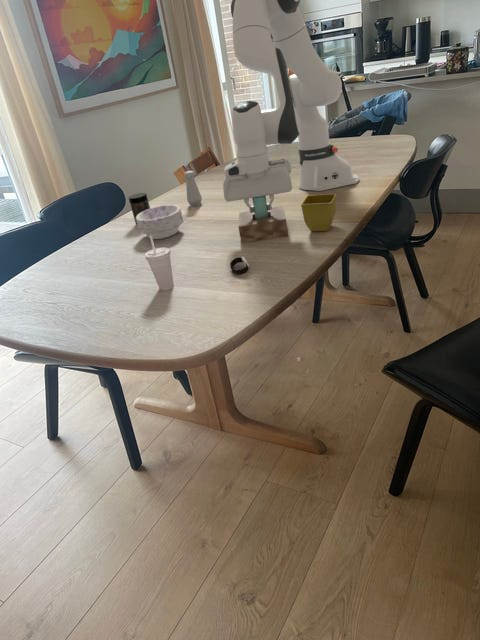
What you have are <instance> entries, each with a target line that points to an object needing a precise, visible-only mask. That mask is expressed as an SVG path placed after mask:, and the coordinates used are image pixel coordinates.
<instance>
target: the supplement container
mask: <svg viewBox="0 0 480 640" xmlns="http://www.w3.org/2000/svg"><path fill="white" fill-rule="evenodd" d="M127 198H128V202H129V204H130V210H131V212H132V215H133V219H134V223H135V225H136V226H138V225H137V222H136V216H137V215H138V214H139V213H141V212H143V211H145V210H147V209H150V208H151V206H150V202H149V199H148V194H147V193H146V192H138V193H133V194H132V195H129V196H128V197H127Z"/></svg>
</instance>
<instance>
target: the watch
mask: <svg viewBox="0 0 480 640" xmlns="http://www.w3.org/2000/svg"><path fill="white" fill-rule="evenodd" d="M240 263H242V264H243V265H244V267H242V268H240V269H235V268H234V267H235V266H236V265H237V264H240ZM229 266H230V270H231V272H232V273H234V274H235V275H238V276H242V275H245V274H246V273H248V272H249V269H250V265H249V263H248V261H247V259H246V258H245V257H244V256H241V257H239V256H238V257H235V258H233V259H232V260H231V261H230V263H229Z"/></svg>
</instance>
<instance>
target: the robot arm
mask: <svg viewBox="0 0 480 640" xmlns="http://www.w3.org/2000/svg"><path fill="white" fill-rule="evenodd" d="M300 2H301V0H231V3H230V13H231V17H232V43H233V51H234V56H235V58H236V60H237V61H238V62H239V63H240V64H241V65H242V66H243V67H245V68H247V69H249V70H252V71H254V72H259V73H262V74H263V73H264V74H266V75H269V76H271V77H272V78H273V79H274V82H275V86H276V92H277V96H278V101H279V105H278V106H277V107H274V108H269V109H264V110H263V109H262V108H261V106H260V104H259V102H257V101H254V100H250V101H249V100H248V101H244V102H240V103H238V104H236V105H235V106H234V107H233V108H232V112H231V114H232V115H231V118H232V119H231V121H232V122H231V123H232V131H233V139H234V142H235V144H236V151H237V152H236V157H237V159H236V160H233V162H231V163H228V164H226V166H225V167H224V169H223V173H224V178H223V184H222V187H223V189H222V190H223V197H224V200H225V201H226V202H228V203H229V202H235V201H236V202H237V201H241V200H243V201H244V204H245V205H246V206H247V208H248V209H249V210H248V211H250V213H253V212H255V211H254V206H253V204H252V205H251V203H250V199H252V198H254V197H261V196H266V197H267V196H268V197H269V201H268V202H267V210H272V208H273V206H272V204H273V202H274V199H275V195H278V194H284V193H290V192H291V191H292V189H293V185H292V184H293V183H292V180H291V179H292V178H291V176H290V175H291V172H292V167H291V166H292V165H291V163H290V161H288V160H287V159H284V158H283V159H282V158H281V159H278V160H270V157H269V151H268V147H267V146H270V145H291V144H292V143H293V142H295V140H296V139H297V141H298V152H297V153H298V163H299V166H300V176H299V184H298V188H299V189H301V190H305V191H315V192H316V191H317V192H321V191H322V192H323V191H326V190H327V191H328V190H331V189H335V188H340V187H341V188H342V187H345V186H349V185H354V184H358V183H359V182H360V181H359V180H360V178H359V175H357V174H356V173H353V170H352V166H351V165H350V164H351V163H349V162H348V161H347V160H346V159H344V158H343V157H341V156H339V155H337V154H336V153H338V151H339V148H338V147H337V146H335V145H333V144H331V143H330V137H329V136H330V135H329V134H330V133H329V124H328V121H327V119H325V118H324V117H323V116H322V115H321V113H320V112H319V109H318V107H324V106H328V105H331V104H333V103H335V102H337V100H339V98H340V96H341V93H342V89H343V83H342V80H341V77H340V76H339V74H338V73H337V72H335V71H334V70H332V69H331V68H330V67H328V65H326V64H325V62H324V61H323V60H322V58H320V56H319V55H318V53H317V51H316V49H315V47H314V45H313V42H312V39H311V36H310V34H309V31H308V27H307V25H306V22H305V19H304V17H303V14H302V12H301V9H300V7H299V5H300ZM289 70H290V71H291V72H292V73H293V74H291V75H289ZM261 109H262V110H261Z"/></svg>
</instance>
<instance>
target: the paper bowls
mask: <svg viewBox="0 0 480 640" xmlns="http://www.w3.org/2000/svg"><path fill="white" fill-rule="evenodd" d="M136 222H137V225H136V226H137V228H138V231H139V233H140V234H143V235H146V236H147V237H148V238H149V239H150V236H152V239H153V240H162V239H167V238H169V237H172V236H174V235H175V234H177V233H178V232H179V228H180V226H181V225H182V224H183V223H184V217H183V212H182V208H181V207H180V206H179V205H176V204H165V205H159V206H155V207H150V209H147V210H145V211H143V212H141V213H139V214H138V215H137V216H136Z"/></svg>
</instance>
